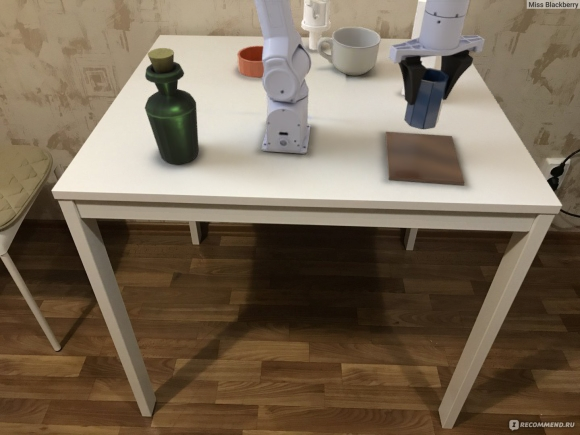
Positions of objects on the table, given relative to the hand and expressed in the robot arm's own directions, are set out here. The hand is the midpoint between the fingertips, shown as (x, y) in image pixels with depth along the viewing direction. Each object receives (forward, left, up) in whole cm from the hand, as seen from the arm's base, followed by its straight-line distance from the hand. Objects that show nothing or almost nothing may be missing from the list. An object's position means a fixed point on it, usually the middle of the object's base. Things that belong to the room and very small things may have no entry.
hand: (425, 99), depth 73 cm
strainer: (+44, +21, -11) cm, 50 cm away
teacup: (+33, +13, -11) cm, 37 cm away
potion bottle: (-5, +41, -11) cm, 42 cm away
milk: (+23, -3, -11) cm, 25 cm away
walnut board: (-1, -1, -10) cm, 11 cm away
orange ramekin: (+30, +33, -10) cm, 45 cm away
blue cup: (0, 0, -4) cm, 4 cm away
